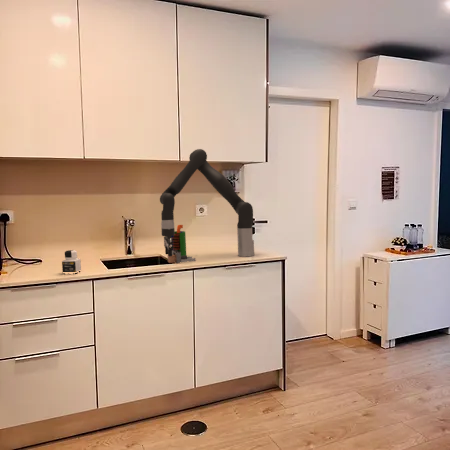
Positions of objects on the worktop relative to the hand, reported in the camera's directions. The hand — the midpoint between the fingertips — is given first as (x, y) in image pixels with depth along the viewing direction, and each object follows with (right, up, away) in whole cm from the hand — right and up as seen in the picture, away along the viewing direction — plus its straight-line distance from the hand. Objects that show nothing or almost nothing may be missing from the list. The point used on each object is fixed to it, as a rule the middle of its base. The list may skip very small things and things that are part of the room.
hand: (168, 255), depth 243 cm
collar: (+9, -3, +3) cm, 10 cm away
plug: (+5, -4, +2) cm, 7 cm away
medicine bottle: (-47, -8, -25) cm, 54 cm away
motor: (+4, -3, +19) cm, 20 cm away
